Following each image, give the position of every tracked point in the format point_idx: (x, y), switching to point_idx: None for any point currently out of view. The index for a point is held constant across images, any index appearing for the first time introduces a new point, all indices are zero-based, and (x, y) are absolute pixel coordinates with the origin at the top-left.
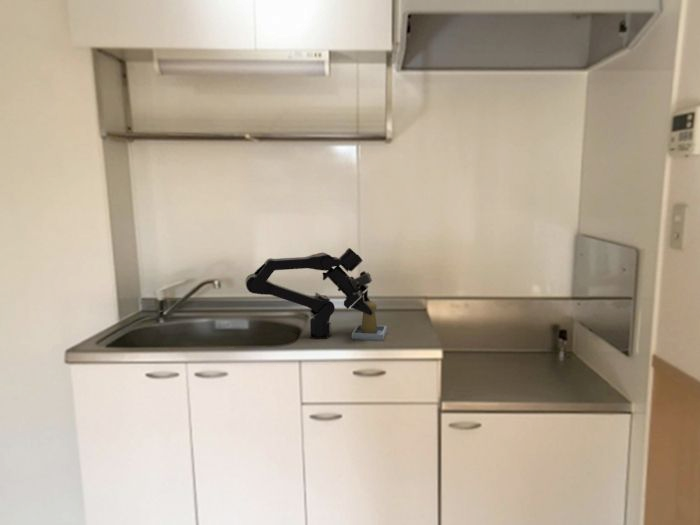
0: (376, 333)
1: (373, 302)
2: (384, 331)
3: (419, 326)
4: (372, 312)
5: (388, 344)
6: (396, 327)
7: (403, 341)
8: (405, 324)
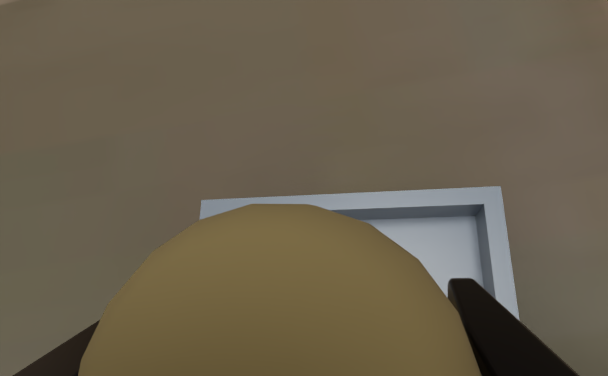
0: None
1: (296, 250)
2: (362, 194)
3: (85, 21)
4: (462, 281)
5: (573, 141)
6: (103, 160)
7: (455, 51)
8: (33, 112)
